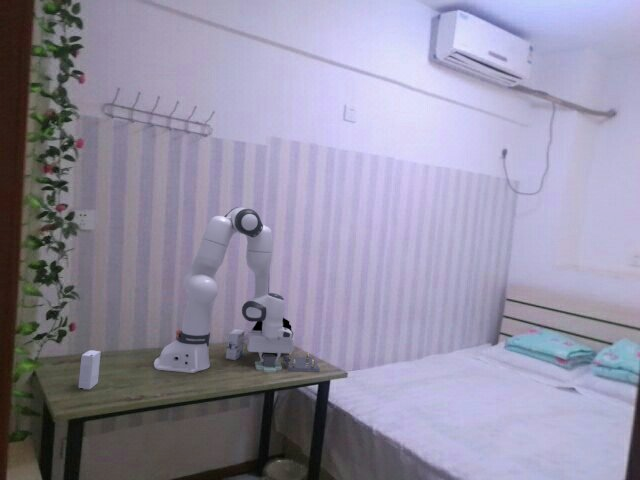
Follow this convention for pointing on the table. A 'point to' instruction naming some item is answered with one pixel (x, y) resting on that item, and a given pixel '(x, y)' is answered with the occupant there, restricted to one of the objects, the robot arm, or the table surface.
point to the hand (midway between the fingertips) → (268, 362)
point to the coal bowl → (285, 324)
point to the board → (268, 369)
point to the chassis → (301, 364)
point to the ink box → (235, 344)
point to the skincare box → (89, 369)
